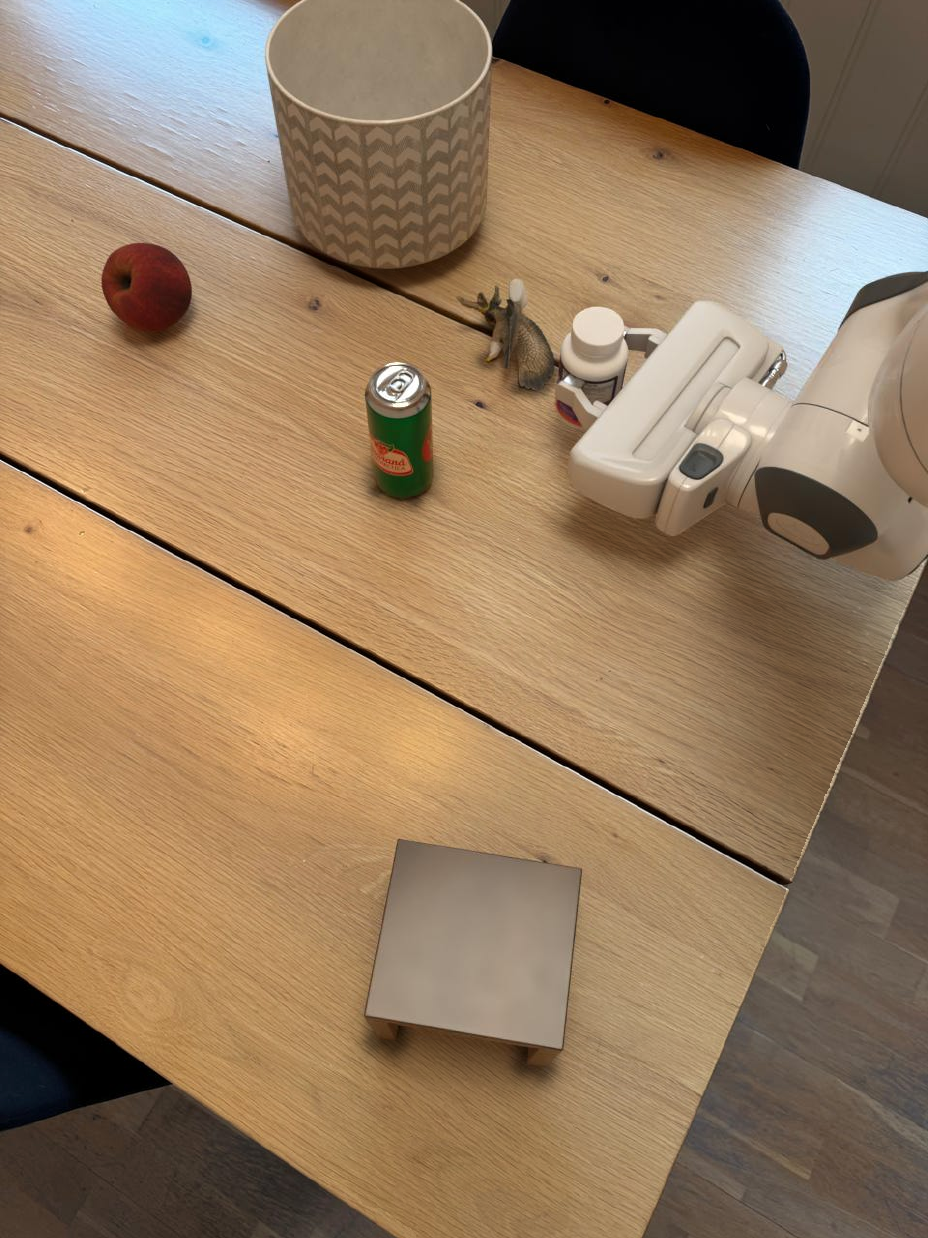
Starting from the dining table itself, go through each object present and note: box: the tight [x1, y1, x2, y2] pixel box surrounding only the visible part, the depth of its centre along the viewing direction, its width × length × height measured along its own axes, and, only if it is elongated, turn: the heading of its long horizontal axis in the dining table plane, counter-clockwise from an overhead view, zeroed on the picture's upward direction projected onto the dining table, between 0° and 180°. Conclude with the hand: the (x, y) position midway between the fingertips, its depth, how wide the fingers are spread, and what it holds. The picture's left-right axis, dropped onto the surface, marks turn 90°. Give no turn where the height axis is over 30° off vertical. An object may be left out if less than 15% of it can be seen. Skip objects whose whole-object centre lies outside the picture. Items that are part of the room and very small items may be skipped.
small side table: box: [363, 838, 583, 1067], centre depth 63 cm, size 11×10×12 cm
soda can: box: [364, 361, 435, 499], centre depth 82 cm, size 5×5×12 cm
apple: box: [101, 242, 193, 333], centre depth 91 cm, size 7×8×8 cm
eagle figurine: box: [456, 278, 555, 391], centre depth 91 cm, size 8×7×9 cm
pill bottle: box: [554, 306, 629, 432], centre depth 82 cm, size 5×5×10 cm
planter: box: [264, 0, 493, 270], centre depth 93 cm, size 19×19×18 cm
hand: (582, 358), depth 82 cm, fingers closed on pill bottle, 5 cm apart
